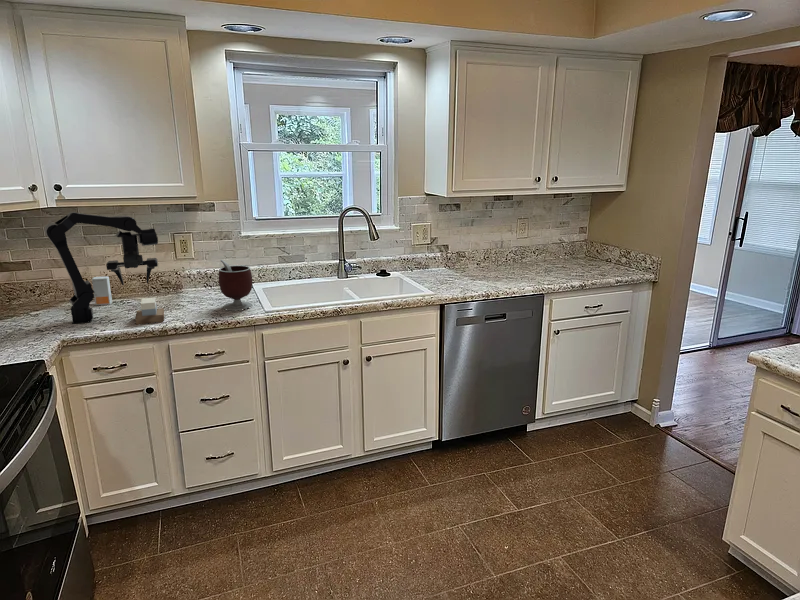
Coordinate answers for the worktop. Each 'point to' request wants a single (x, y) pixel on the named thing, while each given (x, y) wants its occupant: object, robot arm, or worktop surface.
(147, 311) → the base plate
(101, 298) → the skincare box
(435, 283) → the worktop surface
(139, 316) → the walnut stand
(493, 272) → the worktop surface
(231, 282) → the mate gourd
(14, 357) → the worktop surface
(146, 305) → the lid plate
